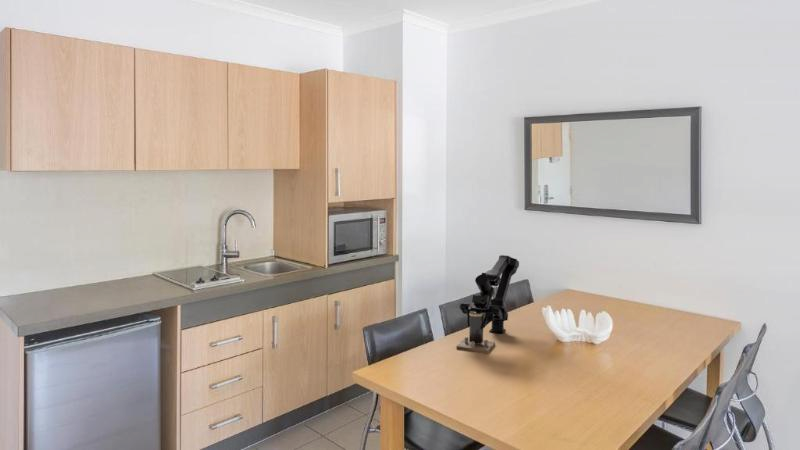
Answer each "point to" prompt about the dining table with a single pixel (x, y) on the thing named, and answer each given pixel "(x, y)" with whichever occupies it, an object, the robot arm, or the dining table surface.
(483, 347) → the peg board
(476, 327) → the tea tin
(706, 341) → the dining table surface
